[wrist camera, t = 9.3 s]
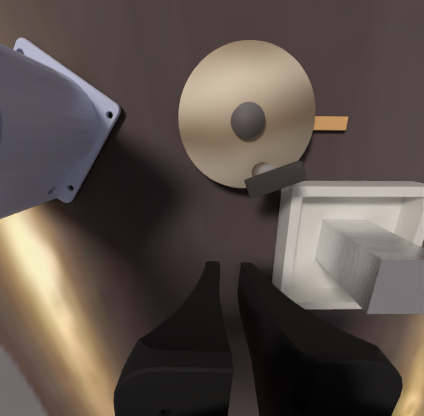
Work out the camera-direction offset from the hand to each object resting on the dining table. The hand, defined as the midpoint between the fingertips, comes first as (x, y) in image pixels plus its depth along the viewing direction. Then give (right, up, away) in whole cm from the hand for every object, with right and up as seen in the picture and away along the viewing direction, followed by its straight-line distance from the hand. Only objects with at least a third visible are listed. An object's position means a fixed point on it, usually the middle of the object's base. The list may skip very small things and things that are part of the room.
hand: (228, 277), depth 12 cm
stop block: (+11, +1, +8) cm, 14 cm away
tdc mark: (+8, +11, +6) cm, 15 cm away
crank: (+2, +11, +5) cm, 12 cm away
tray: (+11, +1, +9) cm, 14 cm away
